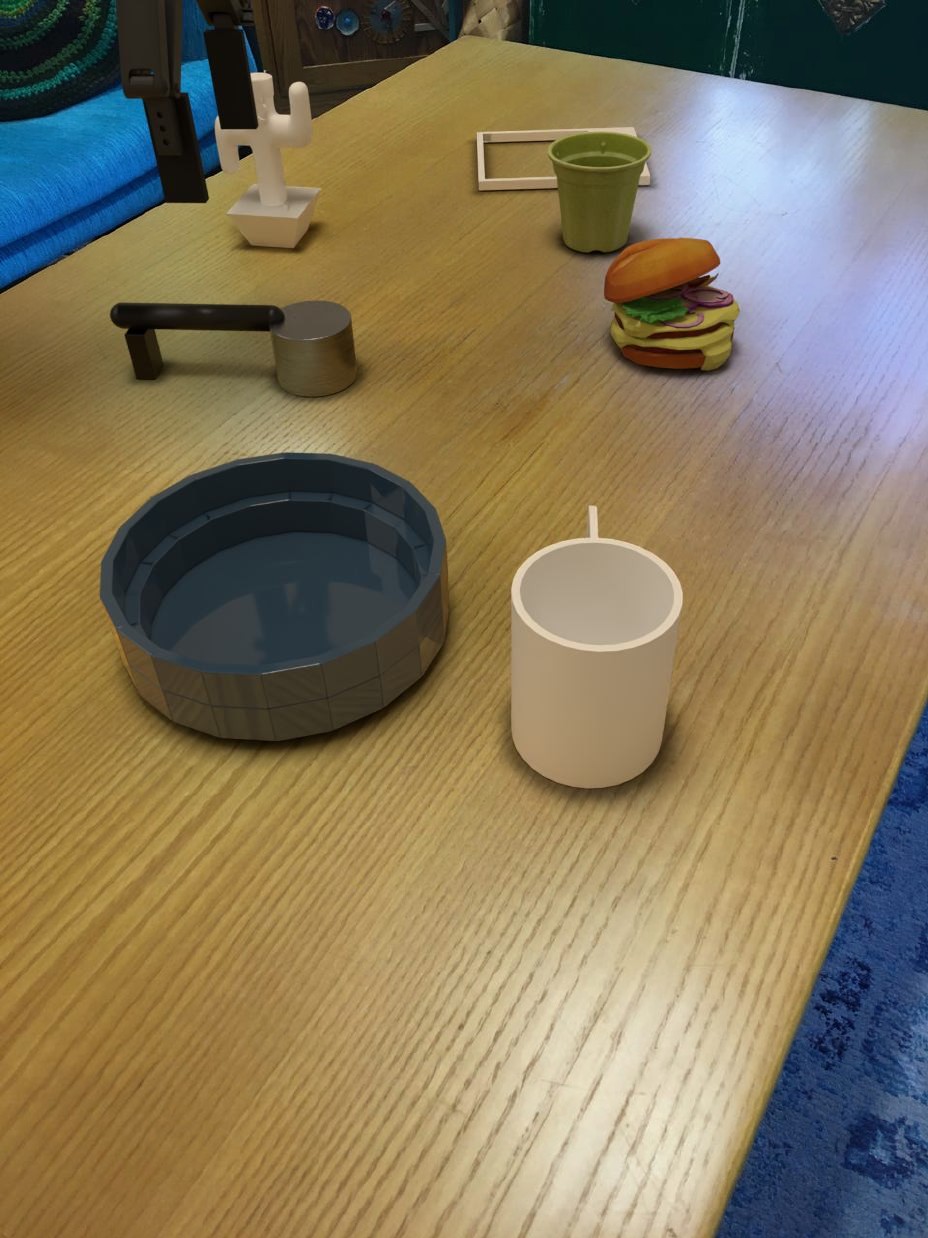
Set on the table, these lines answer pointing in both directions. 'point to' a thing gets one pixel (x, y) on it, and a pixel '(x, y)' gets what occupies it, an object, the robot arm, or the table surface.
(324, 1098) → the table surface
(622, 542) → the cup
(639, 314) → the cheeseburger
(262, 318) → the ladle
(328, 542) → the bowl
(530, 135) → the photo frame
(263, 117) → the figurine
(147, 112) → the robot arm
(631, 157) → the plant pot
